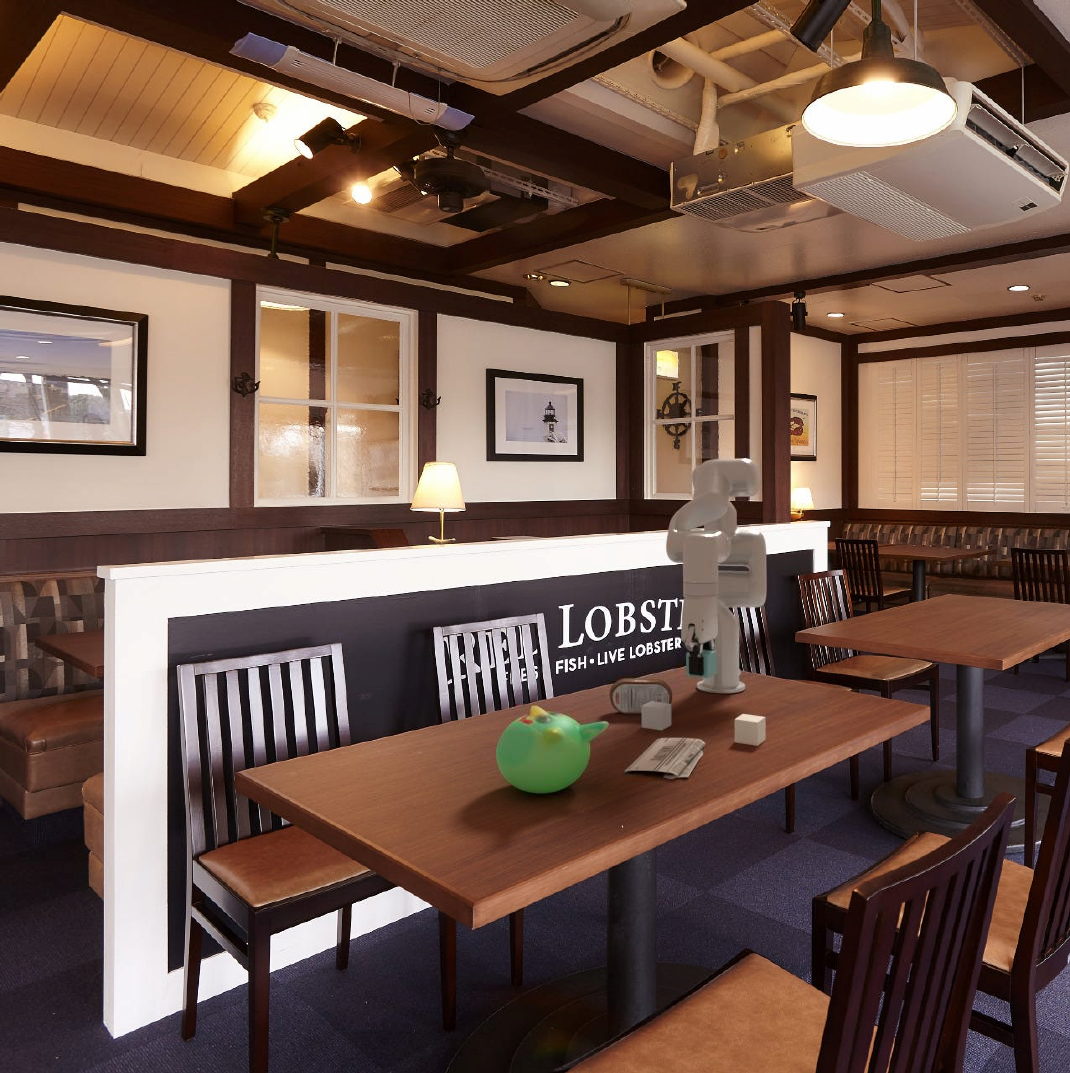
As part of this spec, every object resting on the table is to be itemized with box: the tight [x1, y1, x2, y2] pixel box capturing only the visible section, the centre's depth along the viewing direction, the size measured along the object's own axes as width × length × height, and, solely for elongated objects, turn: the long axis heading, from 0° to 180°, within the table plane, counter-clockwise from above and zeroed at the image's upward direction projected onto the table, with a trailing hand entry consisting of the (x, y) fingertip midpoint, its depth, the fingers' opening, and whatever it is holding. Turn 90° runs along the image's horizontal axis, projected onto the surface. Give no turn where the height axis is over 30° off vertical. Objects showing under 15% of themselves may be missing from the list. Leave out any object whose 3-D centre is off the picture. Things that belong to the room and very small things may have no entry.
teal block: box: [685, 650, 717, 679], centre depth 187 cm, size 5×5×5 cm
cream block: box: [734, 713, 767, 747], centre depth 181 cm, size 5×5×5 cm
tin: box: [609, 677, 673, 715], centre depth 204 cm, size 15×3×8 cm, turn 84°
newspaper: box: [623, 737, 706, 780], centre depth 170 cm, size 23×12×2 cm, turn 155°
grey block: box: [641, 701, 672, 731], centre depth 193 cm, size 5×5×5 cm
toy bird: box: [495, 705, 610, 794], centre depth 154 cm, size 18×17×15 cm
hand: (701, 671), depth 187 cm, fingers closed on teal block, 4 cm apart
